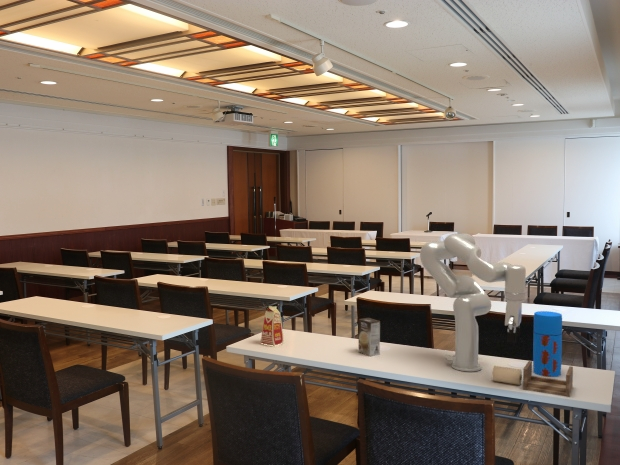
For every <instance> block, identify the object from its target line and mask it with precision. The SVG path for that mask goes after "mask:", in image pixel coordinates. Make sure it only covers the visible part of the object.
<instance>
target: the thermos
mask: <svg viewBox="0 0 620 465" xmlns="http://www.w3.org/2000/svg"><path fill="white" fill-rule="evenodd" d="M532 338H533V339H532V340H533V347H532V350H533V351H532V353H533V354H532V372H533V373H534V374H535V375H536V376H539V377H545V378H555V377H560V376H561V375H562V374H561V373H562V351H563V350H562V348H563V346H562V345H563V343H562V342H563V315H562V313H559V312H557V311H555V312H554V311H550V310H549V311H547V310H546V311H545V310H540V311H535V312H534V314H533V337H532Z"/></svg>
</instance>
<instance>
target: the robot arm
mask: <svg viewBox="0 0 620 465" xmlns="http://www.w3.org/2000/svg"><path fill="white" fill-rule="evenodd" d="M419 251H420V252H419V256H420V262H421V264H422V266H423V268H424V269H425V270H426V271H427V273H428V274H429V275H430V276H431V277H432V278H433V280H434V281H435V283H437V285H438V287H440V289H441V290H442V291H443V293H444V294H445V295H446V296H447V297H448V298H451V299H454V301H453V304H452V308H453V313H454V320H455V321H454V323H455V334H454V335H455V337H454V338H455V342H454V344H455V345H454V348H455V349H454V352H455V354H454V355H447V354H446V355H445V360H446V362H452V363H451V368H452V369H454V370H457V371H459V372H460V371H461V372H468V373H469V372H478V371H481V370H482V369H483V366H482V364H481V363H479V325H478V324H479V323H478V321H477V319H476V317H477V316H482V315H486V314H488V313H489V312H490V311H491V309H492V301H491V299H490V297H489V295H488V294H487V293H486V291H485V290H484V289H483V287H481V286H480V285H479V283H478V282H477V280H475V278H473V277H472V276H470V275H468V274H467V275H466V274H463V275H457V274H455V273H454V272H453V271H452V269H451V268H450V267H449V266H448V265H447V264H446V263H444V262H442V261H441V260H443V261H444V260H451V259H454V258H458V259H459V260H461V261H462V262H464V263H466V266H467V268H468V270H469V271H470V273H471V274H472V275H474V276H475V277H476V278H478V279H479V280H481V281H483V282H485V283H490V284H491V283H498V282H504V301H506V305H505V318H504V326H505V327H507V326H508V327H507V333H506V336H507V337H506V342H507V343H512V344H516V343H517V338H521V337H520V336H521V325H520V324H521V323H522V312H523V311H522V310H523V303H524V302H525V301H526V280H527V278H526V276H527V275H526V274H527V273H526V267H525V266H523V265H520V264H511V263H508V262H502V261H501V262H493V263H488V262H487V261H485V260H483V259H481V256H482V249H481V248H480V247H479V246H478V245H476V240H475V238H474V237H473V236H472V235H471V234H469V233H465V232H463V233H451V234H449V235H447V236H446V237H445V238H444V240H441V241H440V240H439V241H438V240H437V241H436V240H435V241H430V242H426V243H425V244H423V245H422V246H421V249H420V250H419Z"/></svg>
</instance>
